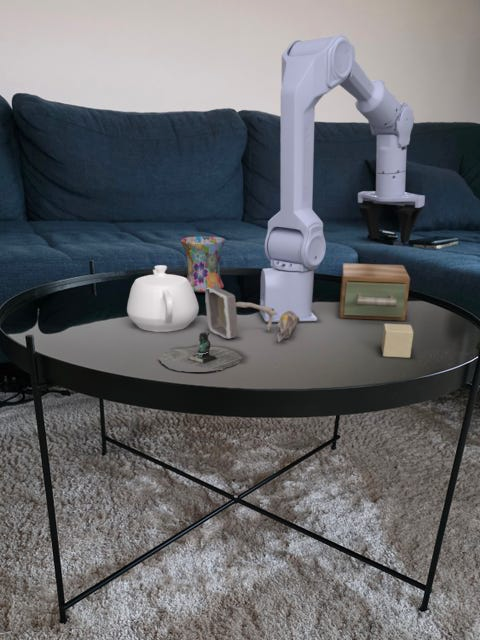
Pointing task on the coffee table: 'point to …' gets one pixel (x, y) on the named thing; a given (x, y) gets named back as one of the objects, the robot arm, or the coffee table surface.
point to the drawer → (374, 299)
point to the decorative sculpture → (225, 316)
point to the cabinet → (373, 275)
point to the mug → (203, 262)
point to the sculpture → (204, 355)
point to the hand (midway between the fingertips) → (389, 239)
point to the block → (397, 340)
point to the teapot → (162, 302)
